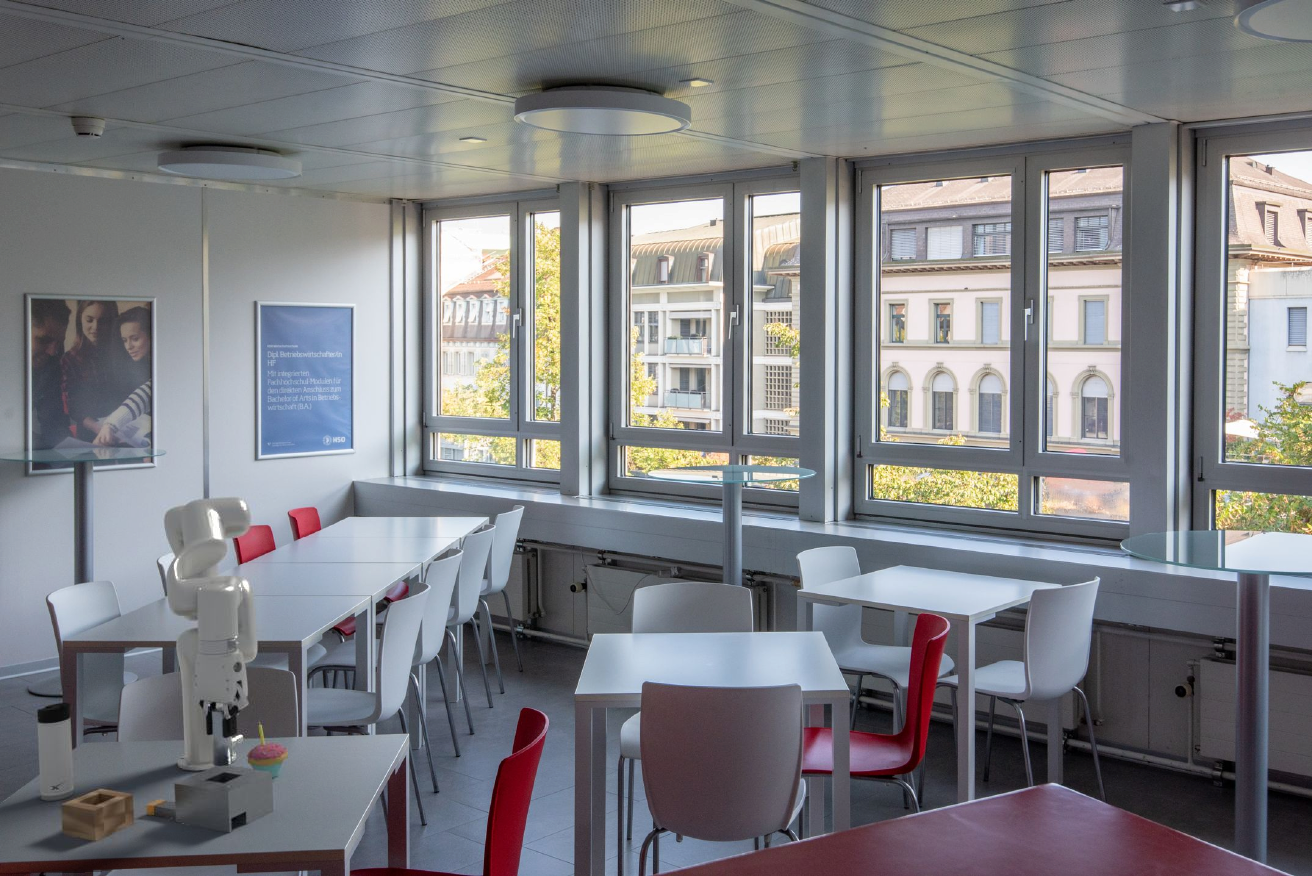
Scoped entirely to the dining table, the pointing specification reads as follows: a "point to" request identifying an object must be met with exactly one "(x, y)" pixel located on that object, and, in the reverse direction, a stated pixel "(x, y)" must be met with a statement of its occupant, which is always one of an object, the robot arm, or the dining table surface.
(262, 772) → the socket block
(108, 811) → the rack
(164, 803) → the bar
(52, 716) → the travel mug
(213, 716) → the peg
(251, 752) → the cupcake
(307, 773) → the dining table surface
